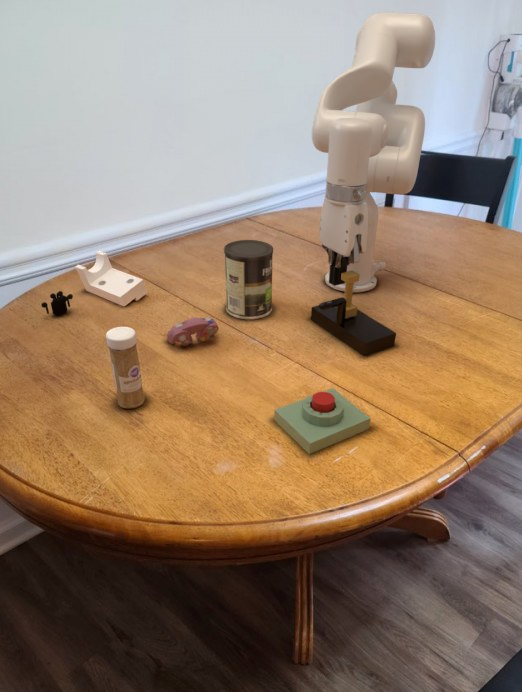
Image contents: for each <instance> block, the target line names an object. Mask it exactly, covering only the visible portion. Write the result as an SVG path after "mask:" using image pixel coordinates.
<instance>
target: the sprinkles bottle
mask: <svg viewBox="0 0 522 692" xmlns="http://www.w3.org/2000/svg"><path fill="white" fill-rule="evenodd" d="M105 338H106V345H107V347H108V350H109V356H110V364H111V371H112V376H113V380H114V386H115V387H114V388H115V390H116V395H117V403H118V406H119V407H121V408H123V409H127V410H128V409H137V408H139V407H140V406H142V405H143V404H144V403H145V400H146V399H145V395H144V388H143V378H142V371H141V366H140V360H139V354H138V347H137V343H138V340H137V333H136V330H135V329H133V328H132V327H130V326H117V327H113V328H110V329H108V331H107V332H106V333H105Z"/></svg>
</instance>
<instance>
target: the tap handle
mask: <svg viewBox="0 0 522 692" xmlns="http://www.w3.org/2000/svg"><path fill="white" fill-rule="evenodd" d="M359 276H360V274H358V273H356V272H354V271H348V272H344V273H341V280H343V281H344V282H346V285H345V292H344V294H343V295H344V296H343V298H345V299H346V301H347V305H346V315H345V319H346V318H350V317H353V316H356V314H357V309H358V306H357V305H355V304H353V303H352V302H353V293H354V292H353V284H354V282H357V281H359Z"/></svg>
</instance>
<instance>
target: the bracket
mask: <svg viewBox="0 0 522 692" xmlns="http://www.w3.org/2000/svg"><path fill="white" fill-rule="evenodd" d="M95 256H96V259H95V263H94V265H93V266H92V267H91V268H89V269H87V267H86V266H83V265H80V264H77V265H75V271H76V272H77V273H78V276H79V279H80V280H81V282H82V284H83V287H84V289H85V290H86V292H88V293H91V294H93V295H96V296H98V297H100V298H102V299H105V300H107V301H110V302H112V303H114V304H117V305H119V306H121V307H126V306H127V305H129V304H130V303H131V302H132V301H136V302H137V301H139V300H140V299H141V298H143V297H144V296H146V295H147V294H148V292H149V291H148V289H147V286H146V284H145V281H144V279H142V278H141V277H138V276H134V275H132V274H129V273H127V272H125V271H121V270H119V269H116V268H114V267H113V266H112V264H111V262H110V261H111V260H110V259H109V257H108V254H107V252H104V251H103V250H102V251H101V250H97V251H95Z"/></svg>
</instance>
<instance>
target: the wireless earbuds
mask: <svg viewBox="0 0 522 692" xmlns="http://www.w3.org/2000/svg"><path fill="white" fill-rule="evenodd" d="M49 298H50V299H52V301H51V302H50V308H51V311H52V314H53V315H54V316H60V315H63V314H66V313H67V312H68V308H70V307H71V302H70V300H72V299H73V298H74V295H73V294H72V293H69V294H67V295H64V292H63V291H62V290H59V291H57V292H56V293H54V292H53V293H50V295H49ZM41 307H42V308H43V309H45V310H46V315H50V310H49V306H48V303H47V302H46V301H43V302H42V303H41Z"/></svg>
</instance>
